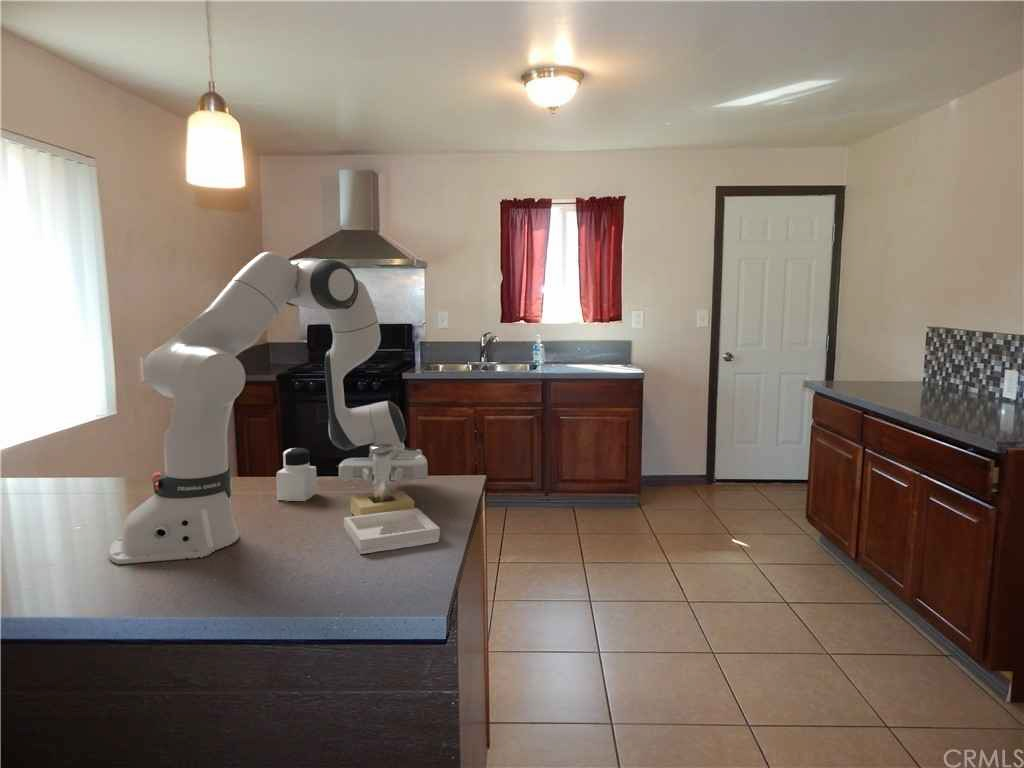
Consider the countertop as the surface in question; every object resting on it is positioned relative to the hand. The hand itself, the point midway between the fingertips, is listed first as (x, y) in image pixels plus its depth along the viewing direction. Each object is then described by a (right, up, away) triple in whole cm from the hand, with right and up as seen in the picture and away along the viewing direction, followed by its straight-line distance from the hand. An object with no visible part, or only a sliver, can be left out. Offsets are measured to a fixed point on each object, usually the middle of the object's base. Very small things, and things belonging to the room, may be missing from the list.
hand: (381, 477), depth 145 cm
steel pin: (0, -9, +2) cm, 9 cm away
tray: (+4, -11, -11) cm, 16 cm away
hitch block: (0, -9, +2) cm, 9 cm away
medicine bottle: (-23, -7, +14) cm, 28 cm away
